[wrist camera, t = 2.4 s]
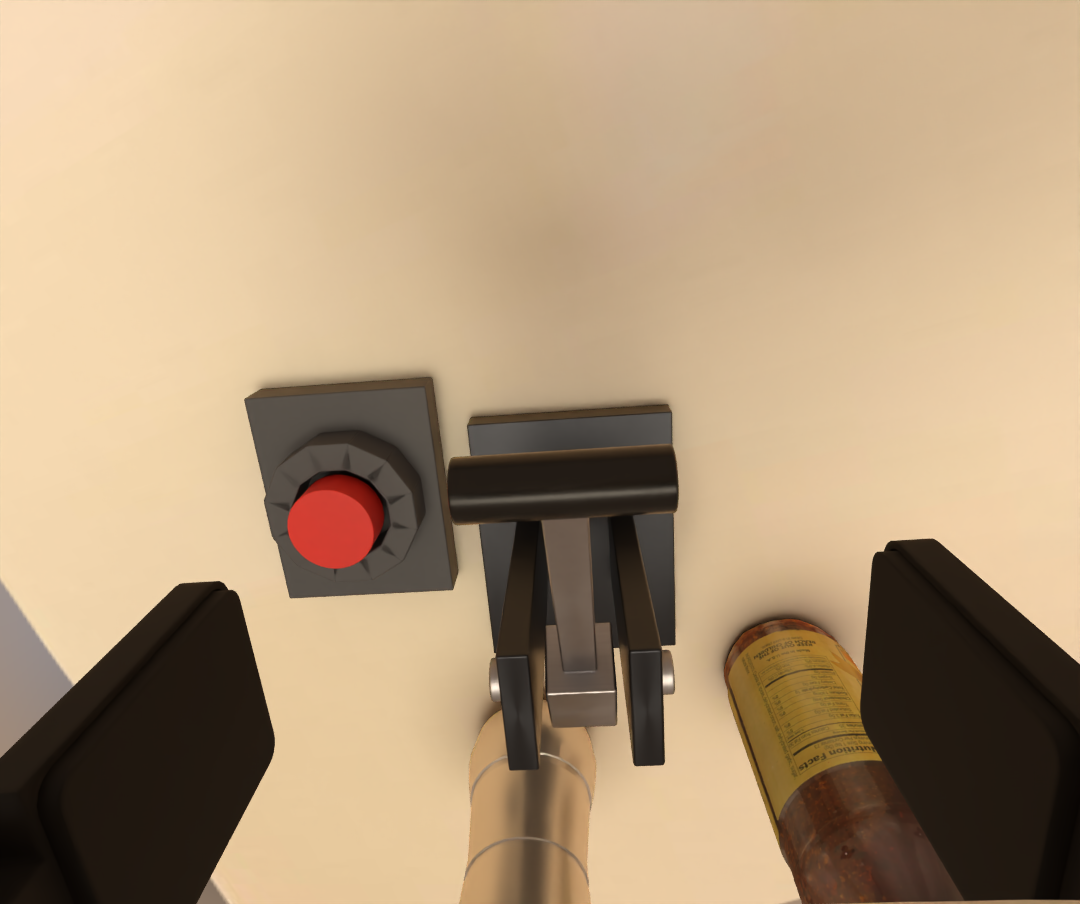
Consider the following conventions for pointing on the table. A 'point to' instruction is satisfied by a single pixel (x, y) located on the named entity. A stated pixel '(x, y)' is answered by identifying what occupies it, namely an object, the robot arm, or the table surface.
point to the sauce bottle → (826, 772)
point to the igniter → (371, 456)
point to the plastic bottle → (530, 819)
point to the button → (336, 521)
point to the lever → (568, 548)
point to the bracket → (617, 572)
